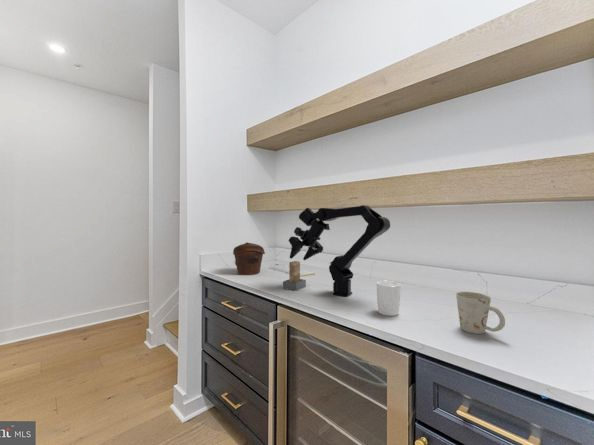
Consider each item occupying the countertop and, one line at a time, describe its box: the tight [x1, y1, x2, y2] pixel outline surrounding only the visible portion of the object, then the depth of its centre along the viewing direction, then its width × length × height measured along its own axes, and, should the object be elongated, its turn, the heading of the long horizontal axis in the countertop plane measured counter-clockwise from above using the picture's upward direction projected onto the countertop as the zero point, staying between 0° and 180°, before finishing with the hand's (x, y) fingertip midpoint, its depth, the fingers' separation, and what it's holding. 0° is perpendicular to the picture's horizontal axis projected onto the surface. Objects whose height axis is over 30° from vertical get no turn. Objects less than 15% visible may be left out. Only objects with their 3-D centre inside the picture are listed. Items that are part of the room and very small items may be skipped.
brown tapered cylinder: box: [232, 242, 265, 276], centre depth 161 cm, size 18×20×18 cm
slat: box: [288, 260, 301, 283], centre depth 127 cm, size 3×4×11 cm, turn 150°
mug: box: [455, 291, 506, 335], centre depth 78 cm, size 8×13×10 cm, turn 28°
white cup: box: [376, 280, 402, 317], centre depth 94 cm, size 8×8×10 cm
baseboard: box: [270, 263, 316, 278], centre depth 166 cm, size 31×3×12 cm
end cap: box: [282, 278, 307, 292], centre depth 127 cm, size 7×9×3 cm
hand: (297, 258), depth 130 cm, fingers open, 9 cm apart
